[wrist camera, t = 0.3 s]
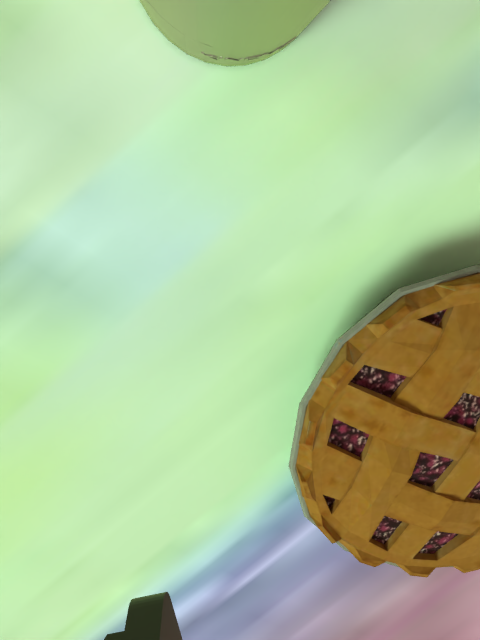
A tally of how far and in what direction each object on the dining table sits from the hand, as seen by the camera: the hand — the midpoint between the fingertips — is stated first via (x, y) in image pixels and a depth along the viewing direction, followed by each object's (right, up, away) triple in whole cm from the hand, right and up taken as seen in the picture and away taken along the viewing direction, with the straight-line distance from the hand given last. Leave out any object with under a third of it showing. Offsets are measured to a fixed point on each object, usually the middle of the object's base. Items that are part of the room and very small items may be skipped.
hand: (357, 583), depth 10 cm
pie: (+11, 0, +21) cm, 24 cm away
